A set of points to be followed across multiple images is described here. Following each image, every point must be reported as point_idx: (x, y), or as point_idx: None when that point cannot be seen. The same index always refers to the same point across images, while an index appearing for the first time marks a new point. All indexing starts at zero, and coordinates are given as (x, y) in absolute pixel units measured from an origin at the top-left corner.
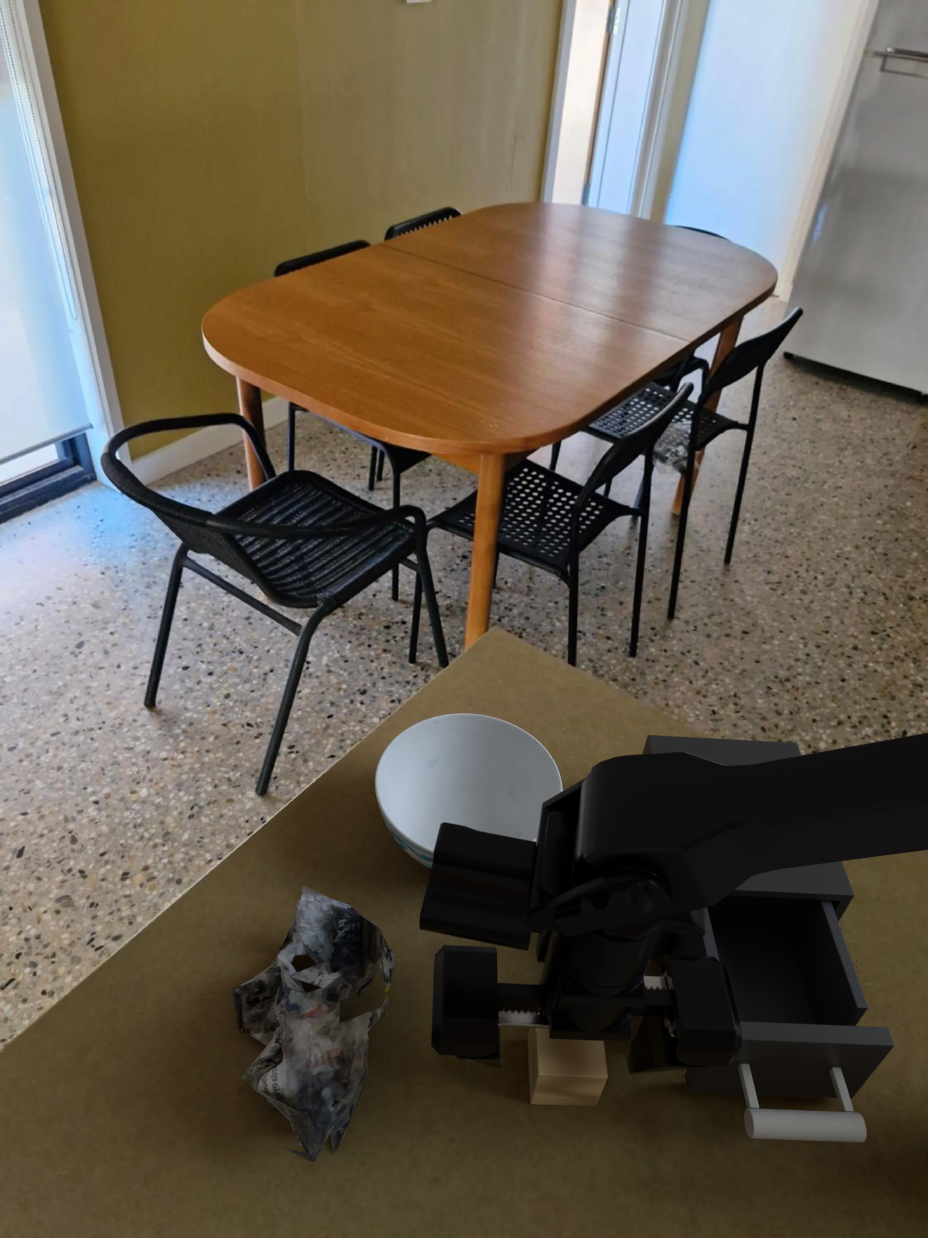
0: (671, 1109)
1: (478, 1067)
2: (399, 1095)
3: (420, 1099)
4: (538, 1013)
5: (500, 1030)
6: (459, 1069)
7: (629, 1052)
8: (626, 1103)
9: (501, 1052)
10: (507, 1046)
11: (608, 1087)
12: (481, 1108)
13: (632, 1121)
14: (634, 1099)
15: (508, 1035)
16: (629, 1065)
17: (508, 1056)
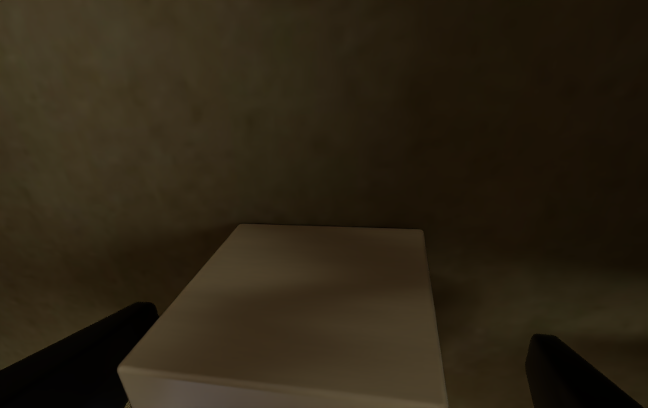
0: (623, 388)
1: (141, 283)
2: (21, 321)
3: (57, 329)
4: (136, 394)
5: (43, 394)
6: (104, 285)
7: (551, 374)
8: (496, 368)
9: (104, 390)
10: (194, 240)
11: (455, 335)
12: None
13: (500, 398)
14: (521, 362)
15: (191, 214)
16: (535, 377)
17: (200, 262)
